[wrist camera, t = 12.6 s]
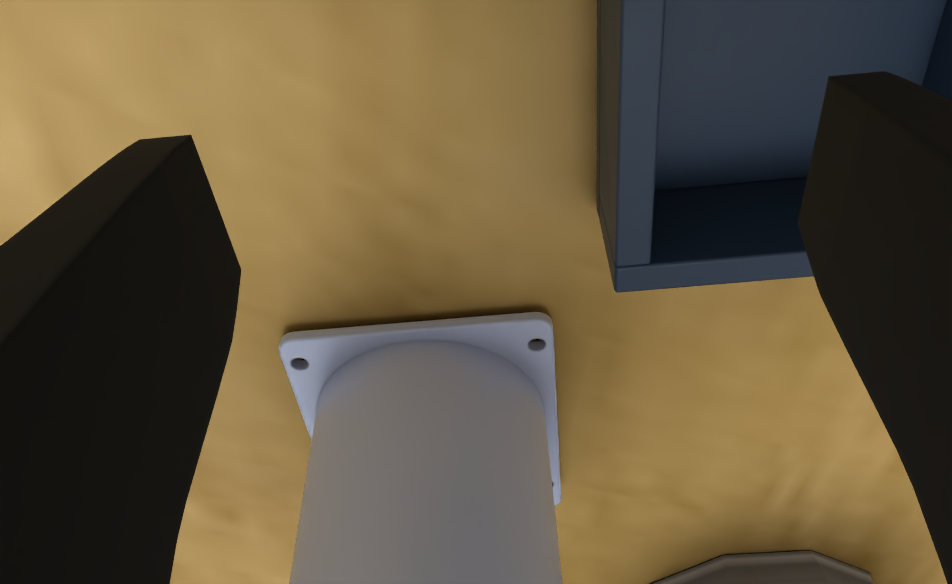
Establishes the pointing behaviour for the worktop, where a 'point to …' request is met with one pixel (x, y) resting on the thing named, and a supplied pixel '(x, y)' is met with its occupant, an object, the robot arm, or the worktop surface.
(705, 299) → the worktop surface
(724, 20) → the divided tray
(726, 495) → the worktop surface
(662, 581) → the can
